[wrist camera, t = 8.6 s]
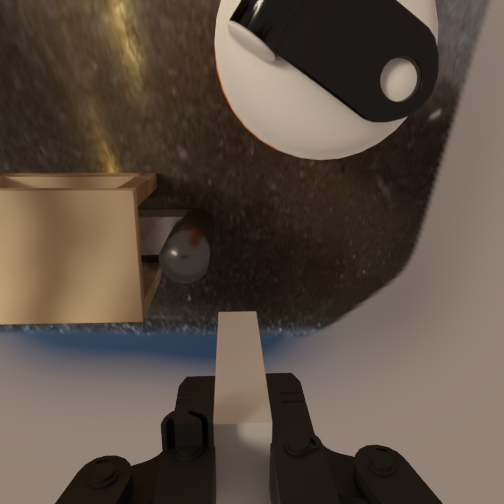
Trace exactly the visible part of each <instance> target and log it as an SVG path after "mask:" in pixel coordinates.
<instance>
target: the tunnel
mask: <svg viewBox="0 0 504 504" xmlns="http://www.w3.org/2000/svg"><path fill="white" fill-rule="evenodd" d="M157 188H158V187H157V173H3V174H0V324H48V323H107V322H143V320H144V318H145V316H146V313H147V311H148V309H149V306H150V304H151V302H152V299H153V297H154V295H155V292H156V290H157V288H158V285H159V283H160V281H161V278H162V276H163V272H162V270H161V268H160V265H159V263H142V260H141V247H140V233H139V220H138V206H139V205H140V204H141V203H142V202H143V201H144V200H145V199H146V198H147V197H148V196H149V195H150V194H151V193H152V192H153V191H154V190H156V189H157Z"/></svg>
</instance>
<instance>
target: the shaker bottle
mask: <svg viewBox="0 0 504 504" xmlns="http://www.w3.org/2000/svg"><path fill="white" fill-rule="evenodd" d="M437 40H438V19H437V12H436V4H435V0H221V3H220V7H219V10H218V14H217V18H216V30H215V57H216V67H217V73H218V77H219V80H220V84H221V87H222V91H223V93H224V95H225V97H226V99H227V101H228V103H229V105H230V107H231V109H232V111H233V112H234V114H235V115H236V116H237V118H238V119H239V120H240V122H241V123H242V124H243V126H244V127H245V128H246V129H247V130H249V131H250V132H251V133H252V134H253V135H254V136H255V137H256V138H258V139H259V140H260V141H262V142H264V143H265V144H267V145H269V146H271V147H272V148H274V149H276V150H278V151H281V152H284V153H287V154H290V155H293V156H296V157H299V158H306V159H315V160H327V159H339V158H343V157H347V156H350V155H353V154H357V153H360V152H362V151H364V150H366V149H368V148H370V147H372V146H374V145H376V144H378V143H379V142H381V141H382V140H383V139H385V138H386V137H387V136H388V135H390V134H391V133H392V132H394V131H395V130H396V129H397V128H398V127H399V126H400V125H401V124H402V122H403V121H404V120H405V119H406V118H407V117H408V116H409V115H411V114H412V113H414V112H415V111H417V110H418V109H420V108H421V107H422V106H423V104H424V103H425V102H426V101H427V99H428V98H429V97H430V95H431V94H432V92H433V89H434V86H435V83H436V80H437V77H438V63H439V53H438V48H437Z"/></svg>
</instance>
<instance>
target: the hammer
mask: <svg viewBox="0 0 504 504" xmlns="http://www.w3.org/2000/svg"><path fill="white" fill-rule="evenodd" d="M138 220H139V233H140V247H141V255H159V265H160V268H161V270H162V272H163V273H164V274H165V276H166V277H167V278H169V279H170V280H172V281H174V282H177V283H181V284H189V283H193V282H196V281H198V280H199V279H200V278H202V277H203V276H204V275H205V273H206V271H207V269H208V266H209V260H210V253H211V246H212V239H213V232H214V223H213V220H212V218H211V216H210V215H209V214H208V213H207V212H206V211H204V210H202V209H198V208H191V209H138Z"/></svg>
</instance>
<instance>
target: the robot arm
mask: <svg viewBox="0 0 504 504" xmlns="http://www.w3.org/2000/svg"><path fill="white" fill-rule="evenodd" d="M161 434H162V449H163V451H162V452H161V453H160V454H159V455H158V456H156V457H154V458H153V459H151V460H148V461H146V462H143V463H140V464H136V465H133V466H131V465H130V463H129V462H128V461H127V460H126V459H125V458H122V457H119V456H103V457H100V458H96V459H94V460H93V461H91V462H89V463H88V464H86V465H85V466H84V467H83V468H82V469H81V470H80V471H79V472H78V473H77V474H76V476H75V477H74V478H73V480H72V481H71V482H70V484H69V485H68V487H67V488H66V489H65V491H64V492H63V493H62V495H61V496H60V498H59V499H58V500H57V502H56V503H55V504H270V500H271V504H442V502H441V501H440V500H439V499H438V498H437V496H436V495H435V494H434V493H433V492H432V491H431V489H430V488H429V487H428V486H427V485H426V483H425V482H424V481H423V480H422V479H421V477H420V476H419V475H418V474H417V473H416V471H415V470H414V469H413V468H412V467H411V466H410V464H409V463H408V462H407V461H406V460H405V458H404V457H402V456H401V455H400V454H399V453H398V452H397V451H394V450H392V449H390V448H388V447H385V446H380V445H367V446H365V447H363V448H361V449H359V451H358V452H357V453H356V455H355V457H352V456H348V455H343V454H340V453H336V452H333V451H331V450H329V449H327V448H326V447H325V446H323V444H322V442H321V440H320V439H319V438H318V437H317V436H316V435H315V434H314V430H313V427H312V423H311V420H310V416H309V412H308V408H307V405H306V403H305V398H304V394H303V390H302V387H301V383H300V381H299V380H298V379H297V378H296V377H295V376H294V375H293V374H292V373H273V374H272V373H270V374H265V369H264V362H263V355H262V348H261V342H260V335H259V328H258V321H257V314H256V311H250V312H219V314H218V334H217V356H216V375H215V376H197V377H186V378H185V380H184V381H183V382H182V383H181V384H180V386H179V389H178V395H177V400H176V407H175V411H173V412H171V413H169V414H168V415H167V416H166V417H165V418H164V419H163V421H162V423H161Z"/></svg>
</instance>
